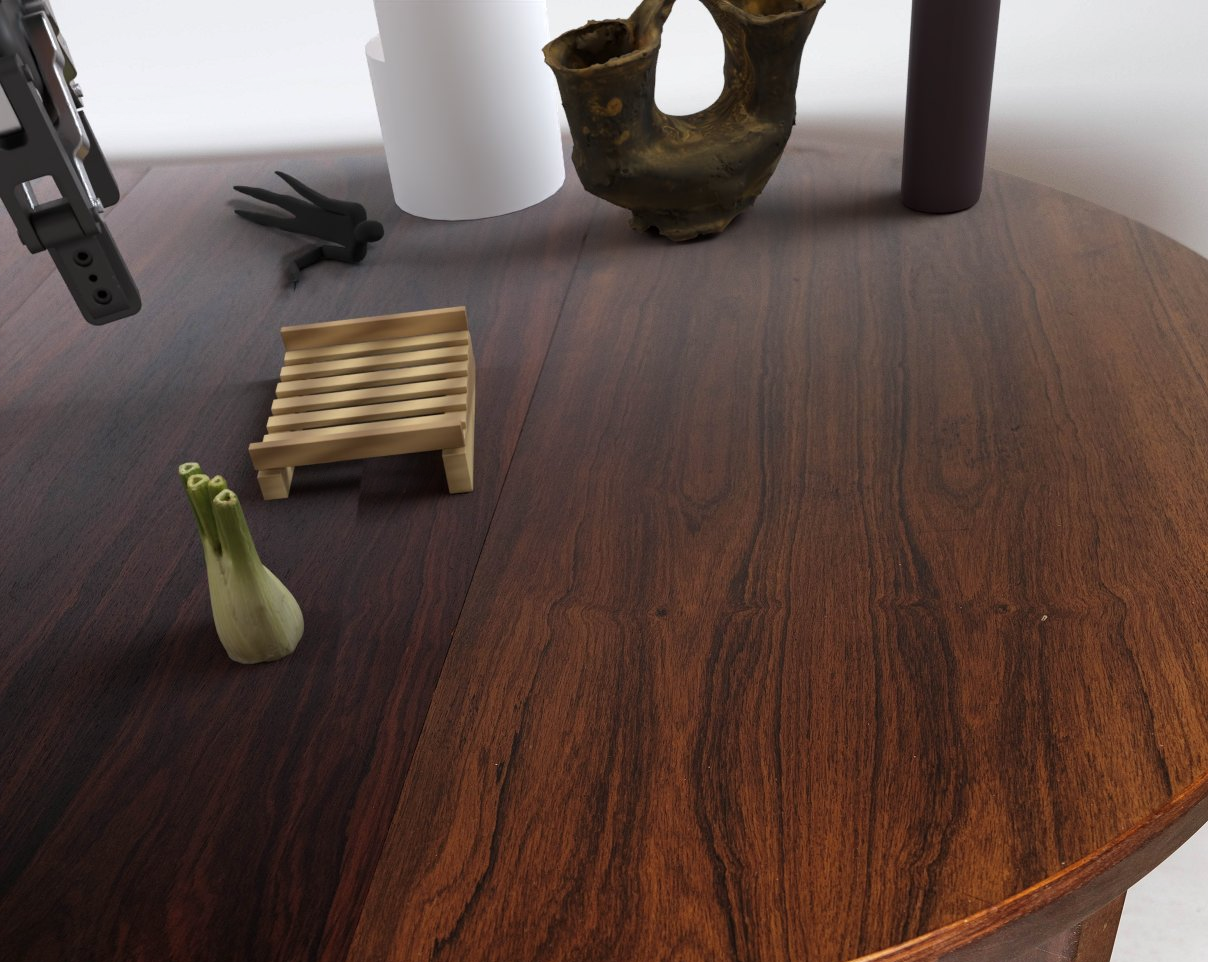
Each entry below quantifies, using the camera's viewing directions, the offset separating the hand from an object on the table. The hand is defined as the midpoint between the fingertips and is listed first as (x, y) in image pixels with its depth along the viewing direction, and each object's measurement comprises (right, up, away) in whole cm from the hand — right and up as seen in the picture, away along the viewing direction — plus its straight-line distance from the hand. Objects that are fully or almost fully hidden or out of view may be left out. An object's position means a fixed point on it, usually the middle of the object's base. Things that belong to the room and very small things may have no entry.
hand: (107, 258), depth 52 cm
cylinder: (+8, +35, +78) cm, 86 cm away
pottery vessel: (+28, +27, +67) cm, 77 cm away
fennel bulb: (0, -15, +25) cm, 29 cm away
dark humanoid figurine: (-11, +25, +70) cm, 76 cm away
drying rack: (+4, +2, +43) cm, 43 cm away
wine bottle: (+50, +28, +65) cm, 87 cm away
